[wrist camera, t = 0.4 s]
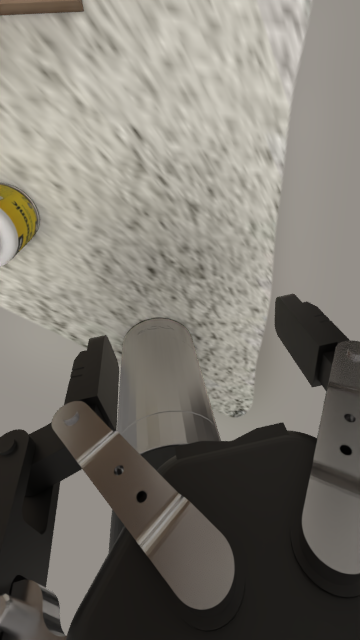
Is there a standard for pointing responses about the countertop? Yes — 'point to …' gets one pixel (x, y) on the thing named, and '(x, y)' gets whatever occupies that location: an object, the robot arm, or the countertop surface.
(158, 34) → the countertop surface
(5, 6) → the stand
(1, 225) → the supplement bottle
